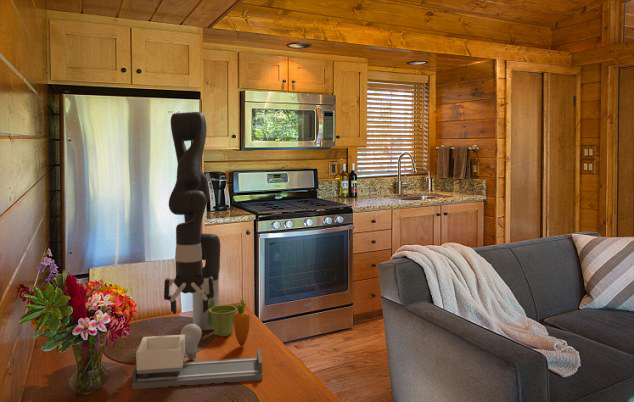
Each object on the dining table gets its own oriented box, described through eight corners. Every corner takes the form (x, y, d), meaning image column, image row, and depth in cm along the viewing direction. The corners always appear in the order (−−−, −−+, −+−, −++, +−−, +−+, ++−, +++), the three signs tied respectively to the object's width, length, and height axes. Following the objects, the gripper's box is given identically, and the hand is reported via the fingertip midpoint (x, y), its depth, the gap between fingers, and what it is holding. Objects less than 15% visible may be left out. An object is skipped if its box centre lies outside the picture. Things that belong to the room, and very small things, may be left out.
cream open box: (144, 363, 146) (143, 336, 145) (185, 360, 148) (184, 334, 147) (137, 381, 135) (136, 352, 134) (181, 378, 137) (181, 349, 136)
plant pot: (206, 331, 178) (206, 306, 177) (233, 327, 182) (232, 303, 181) (212, 340, 170) (212, 314, 169) (240, 335, 173) (240, 310, 173)
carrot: (241, 350, 160) (241, 304, 159) (230, 347, 163) (229, 301, 162) (253, 346, 164) (252, 300, 163) (241, 342, 167) (241, 297, 166)
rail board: (140, 370, 146) (139, 354, 146) (259, 362, 152) (259, 347, 152) (132, 389, 135) (131, 373, 134) (262, 380, 140) (262, 364, 140)
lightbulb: (204, 356, 156) (204, 321, 155) (198, 364, 150) (197, 328, 149) (185, 355, 157) (184, 320, 156) (178, 363, 151) (177, 327, 150)
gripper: (214, 255, 155) (214, 308, 157) (165, 256, 153) (166, 309, 155) (213, 260, 148) (213, 315, 149) (161, 261, 146) (163, 317, 147)
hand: (189, 312), depth 152 cm, fingers open, 8 cm apart
